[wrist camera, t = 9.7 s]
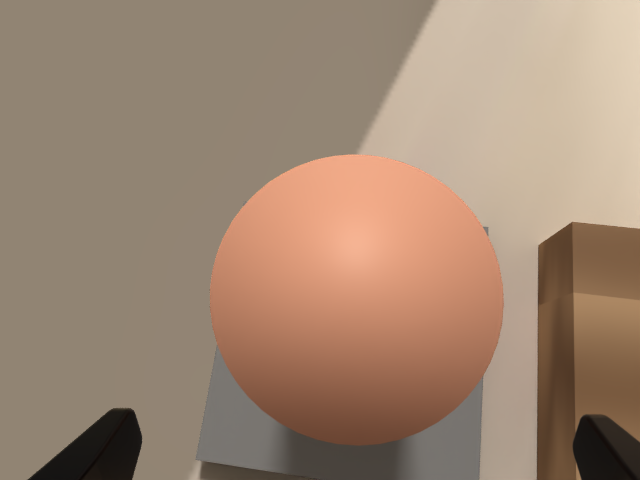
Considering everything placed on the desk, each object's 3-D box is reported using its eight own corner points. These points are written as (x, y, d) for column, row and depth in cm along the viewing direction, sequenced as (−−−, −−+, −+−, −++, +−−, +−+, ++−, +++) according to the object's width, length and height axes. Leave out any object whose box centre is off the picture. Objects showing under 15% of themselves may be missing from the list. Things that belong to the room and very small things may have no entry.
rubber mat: (472, 498, 17) (478, 504, 16) (201, 456, 18) (195, 459, 17) (482, 233, 19) (488, 227, 19) (247, 208, 20) (244, 201, 20)
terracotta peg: (425, 382, 17) (551, 394, 7) (307, 416, 17) (245, 484, 7) (388, 267, 18) (444, 124, 8) (277, 298, 18) (185, 196, 8)
